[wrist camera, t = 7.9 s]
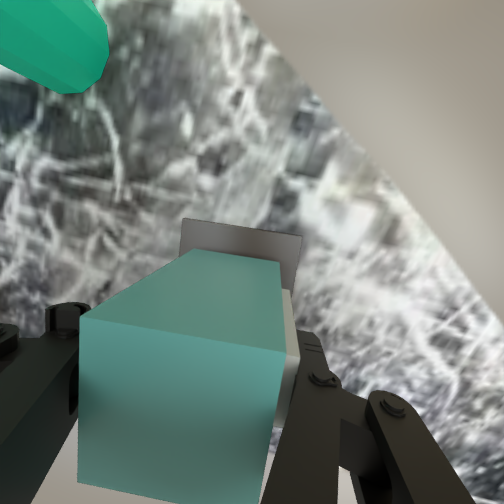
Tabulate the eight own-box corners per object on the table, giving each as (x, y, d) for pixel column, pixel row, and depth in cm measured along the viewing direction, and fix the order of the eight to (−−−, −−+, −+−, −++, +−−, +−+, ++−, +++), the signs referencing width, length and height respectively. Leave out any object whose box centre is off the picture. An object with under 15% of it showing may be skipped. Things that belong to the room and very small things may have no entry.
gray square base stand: (175, 324, 20) (80, 445, 10) (185, 218, 18) (83, 238, 8) (281, 343, 19) (290, 487, 10) (301, 235, 18) (335, 279, 8)
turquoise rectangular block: (185, 327, 17) (77, 482, 8) (193, 248, 16) (79, 316, 7) (266, 341, 17) (255, 520, 7) (279, 262, 16) (286, 353, 6)
